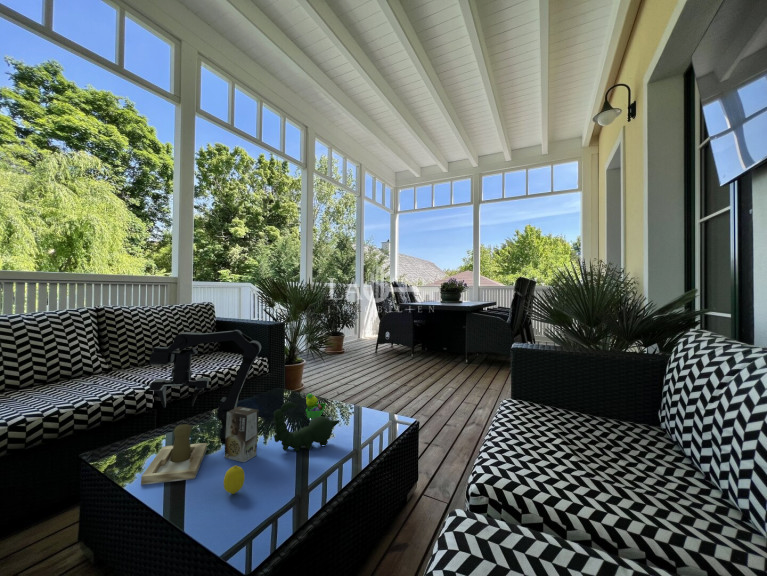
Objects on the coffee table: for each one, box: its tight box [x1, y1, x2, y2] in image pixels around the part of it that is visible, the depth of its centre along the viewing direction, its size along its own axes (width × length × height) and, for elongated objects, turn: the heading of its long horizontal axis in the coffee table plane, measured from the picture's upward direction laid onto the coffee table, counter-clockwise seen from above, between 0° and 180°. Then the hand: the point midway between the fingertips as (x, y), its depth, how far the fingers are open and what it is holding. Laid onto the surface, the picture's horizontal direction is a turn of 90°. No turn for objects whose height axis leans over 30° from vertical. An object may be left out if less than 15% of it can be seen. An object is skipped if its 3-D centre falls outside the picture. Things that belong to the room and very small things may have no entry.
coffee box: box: [224, 406, 260, 463], centre depth 116 cm, size 9×6×16 cm
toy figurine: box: [272, 401, 340, 452], centre depth 125 cm, size 9×19×25 cm
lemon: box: [223, 465, 246, 495], centre depth 94 cm, size 6×6×8 cm
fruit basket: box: [305, 393, 327, 419], centre depth 157 cm, size 11×9×11 cm
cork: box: [170, 423, 193, 462], centre depth 111 cm, size 6×6×11 cm
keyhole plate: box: [140, 442, 208, 486], centre depth 107 cm, size 14×20×2 cm
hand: (178, 406), depth 125 cm, fingers open, 9 cm apart
